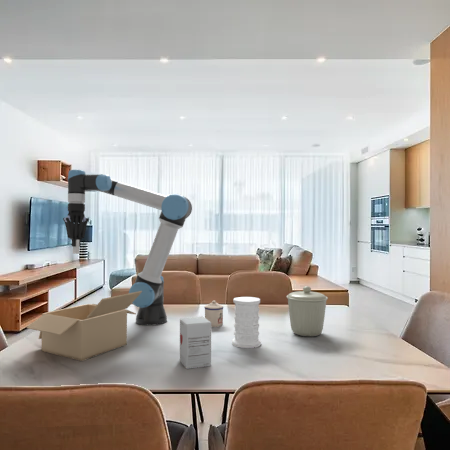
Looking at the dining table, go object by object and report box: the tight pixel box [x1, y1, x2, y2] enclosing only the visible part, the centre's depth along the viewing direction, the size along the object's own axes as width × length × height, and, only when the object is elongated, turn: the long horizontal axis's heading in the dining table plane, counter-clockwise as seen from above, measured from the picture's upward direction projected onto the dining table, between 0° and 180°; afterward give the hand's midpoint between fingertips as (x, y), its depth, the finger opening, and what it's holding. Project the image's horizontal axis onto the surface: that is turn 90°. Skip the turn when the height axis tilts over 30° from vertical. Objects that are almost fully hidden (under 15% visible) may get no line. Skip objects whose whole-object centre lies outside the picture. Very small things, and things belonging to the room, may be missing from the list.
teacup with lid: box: [204, 300, 224, 328], centre depth 186 cm, size 12×9×12 cm
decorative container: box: [231, 296, 262, 349], centre depth 155 cm, size 12×12×18 cm
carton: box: [26, 303, 137, 362], centre depth 149 cm, size 26×37×14 cm
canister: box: [286, 285, 329, 337], centre depth 170 cm, size 18×18×21 cm
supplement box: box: [179, 316, 212, 370], centre depth 132 cm, size 9×9×15 cm
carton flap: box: [87, 291, 142, 318], centre depth 141 cm, size 1×20×10 cm
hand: (75, 253), depth 179 cm, fingers closed
